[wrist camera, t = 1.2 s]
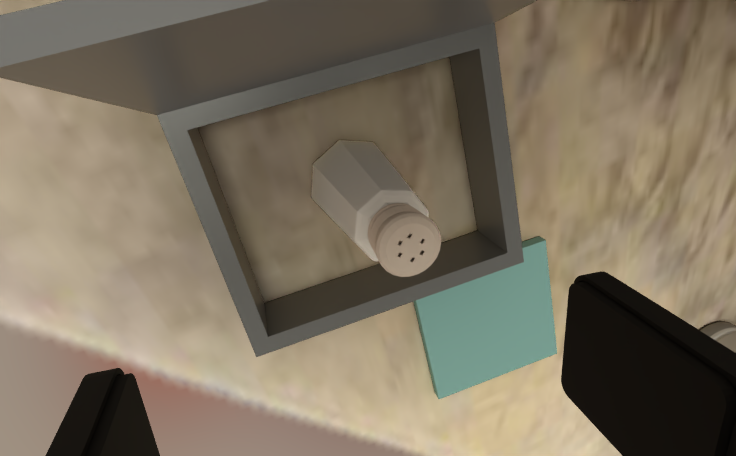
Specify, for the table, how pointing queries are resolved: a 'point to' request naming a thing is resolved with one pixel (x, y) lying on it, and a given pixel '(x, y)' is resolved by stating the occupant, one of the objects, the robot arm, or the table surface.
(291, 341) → the case
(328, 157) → the salt shaker
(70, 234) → the table surface
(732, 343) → the travel mug
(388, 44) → the lid
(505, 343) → the pad
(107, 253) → the table surface
